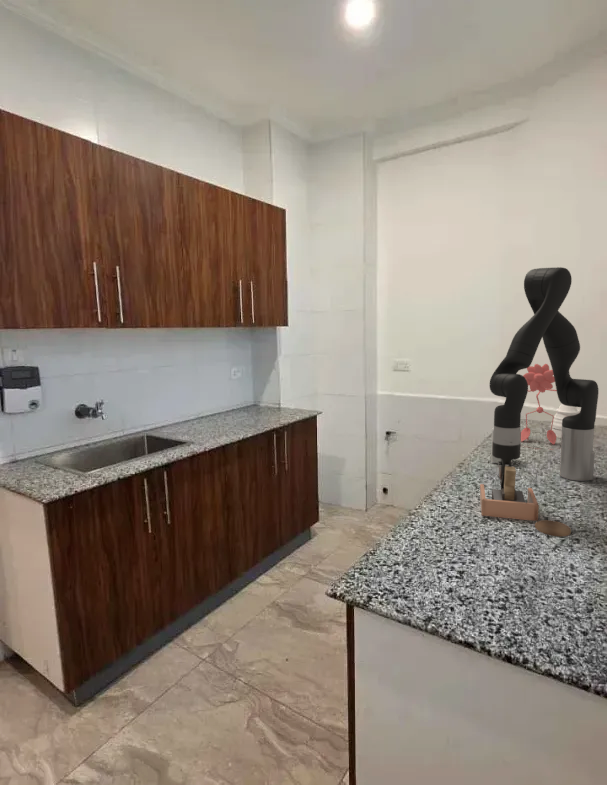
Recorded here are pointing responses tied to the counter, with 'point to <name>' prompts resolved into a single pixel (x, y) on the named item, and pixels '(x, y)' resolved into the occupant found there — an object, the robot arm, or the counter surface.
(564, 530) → the lid
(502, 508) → the three-sided wooden frame
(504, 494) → the mounted wooden block
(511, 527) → the counter surface
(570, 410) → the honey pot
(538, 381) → the figurine
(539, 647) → the counter surface
